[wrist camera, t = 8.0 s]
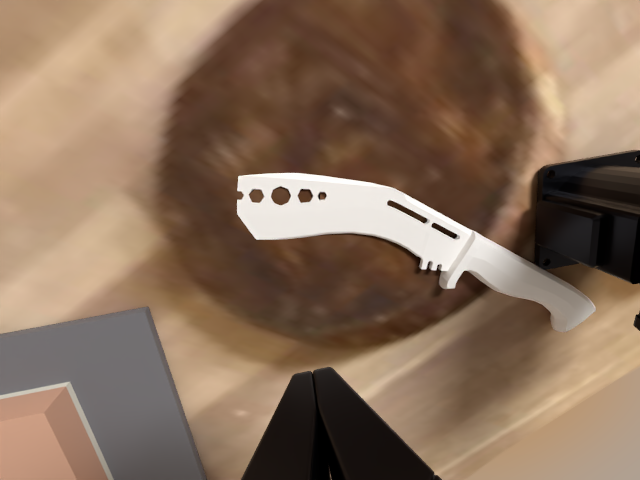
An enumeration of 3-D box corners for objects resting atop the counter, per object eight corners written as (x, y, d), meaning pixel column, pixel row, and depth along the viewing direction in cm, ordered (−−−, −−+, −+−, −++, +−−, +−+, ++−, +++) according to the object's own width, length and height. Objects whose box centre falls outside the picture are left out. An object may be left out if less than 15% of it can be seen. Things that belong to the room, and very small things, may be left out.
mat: (148, 306, 20) (144, 311, 20) (214, 502, 25) (213, 511, 25) (-146, 361, 19) (-159, 368, 19) (-18, 555, 24) (-25, 565, 24)
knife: (102, 205, 20) (86, 211, 18) (118, 100, 18) (101, 96, 17) (563, 329, 24) (582, 342, 23) (605, 254, 23) (629, 263, 21)
